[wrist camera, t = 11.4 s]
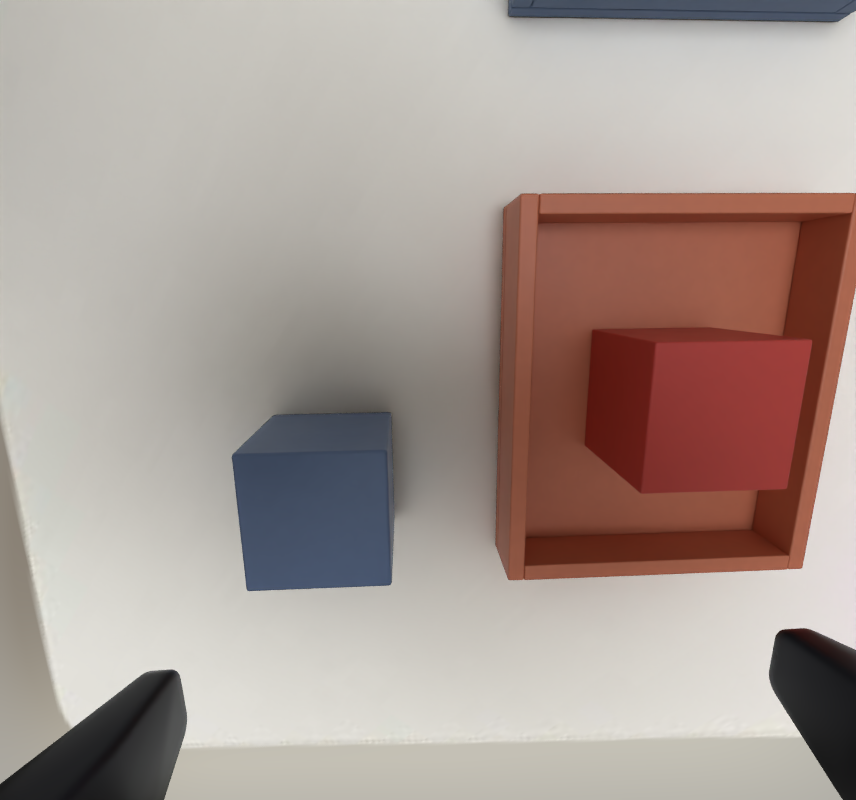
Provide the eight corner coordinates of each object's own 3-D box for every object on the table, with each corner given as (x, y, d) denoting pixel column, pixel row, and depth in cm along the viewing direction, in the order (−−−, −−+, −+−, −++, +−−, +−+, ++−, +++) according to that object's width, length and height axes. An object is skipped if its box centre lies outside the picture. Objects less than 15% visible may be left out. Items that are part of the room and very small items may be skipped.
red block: (583, 445, 18) (640, 494, 14) (591, 329, 17) (655, 342, 13) (696, 442, 18) (787, 489, 14) (710, 327, 17) (813, 339, 13)
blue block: (282, 522, 19) (245, 592, 14) (272, 414, 18) (230, 454, 13) (394, 518, 19) (391, 586, 15) (391, 411, 18) (387, 450, 14)
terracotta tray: (495, 545, 20) (507, 581, 17) (503, 207, 17) (520, 193, 14) (754, 535, 20) (802, 569, 18) (807, 206, 17) (875, 192, 15)
